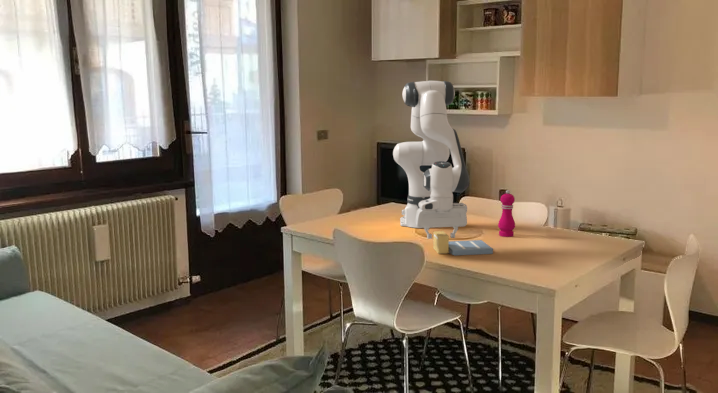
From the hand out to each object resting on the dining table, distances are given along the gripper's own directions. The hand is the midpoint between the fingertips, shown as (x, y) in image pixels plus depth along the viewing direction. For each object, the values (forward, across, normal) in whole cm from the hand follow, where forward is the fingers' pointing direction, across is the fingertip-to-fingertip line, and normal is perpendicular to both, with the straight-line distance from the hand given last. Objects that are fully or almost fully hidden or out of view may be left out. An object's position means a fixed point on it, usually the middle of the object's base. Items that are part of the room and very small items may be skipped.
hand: (441, 238), depth 261 cm
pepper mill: (+5, -35, -22) cm, 42 cm away
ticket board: (+6, -11, 0) cm, 12 cm away
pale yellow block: (+6, 0, 0) cm, 6 cm away
